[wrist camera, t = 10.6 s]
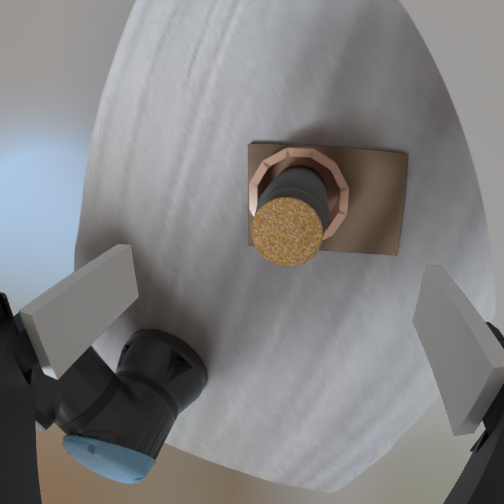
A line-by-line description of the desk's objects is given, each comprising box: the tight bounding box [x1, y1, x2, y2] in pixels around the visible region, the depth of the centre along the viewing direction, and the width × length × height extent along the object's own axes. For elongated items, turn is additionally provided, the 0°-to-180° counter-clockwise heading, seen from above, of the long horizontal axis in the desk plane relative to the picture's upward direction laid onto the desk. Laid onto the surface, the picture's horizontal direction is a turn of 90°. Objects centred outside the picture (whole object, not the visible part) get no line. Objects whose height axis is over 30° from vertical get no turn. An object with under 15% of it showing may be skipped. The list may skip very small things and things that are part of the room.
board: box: [248, 144, 408, 255], centre depth 35 cm, size 18×12×1 cm, turn 90°
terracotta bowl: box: [249, 147, 349, 240], centre depth 32 cm, size 10×10×5 cm
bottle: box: [251, 165, 329, 266], centre depth 27 cm, size 6×6×15 cm
